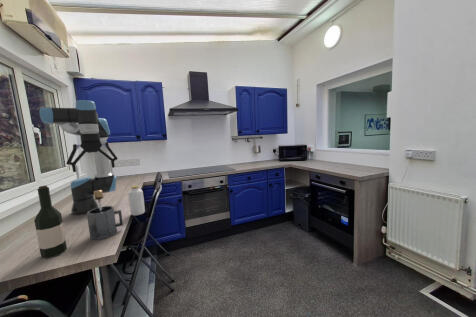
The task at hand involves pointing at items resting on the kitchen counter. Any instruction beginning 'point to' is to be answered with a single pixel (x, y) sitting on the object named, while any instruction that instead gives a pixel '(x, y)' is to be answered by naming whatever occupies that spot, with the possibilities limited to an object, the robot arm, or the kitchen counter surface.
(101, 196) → the plunger
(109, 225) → the dark grey mug
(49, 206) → the wine bottle
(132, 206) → the white rounded cylinder
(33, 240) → the kitchen counter surface
